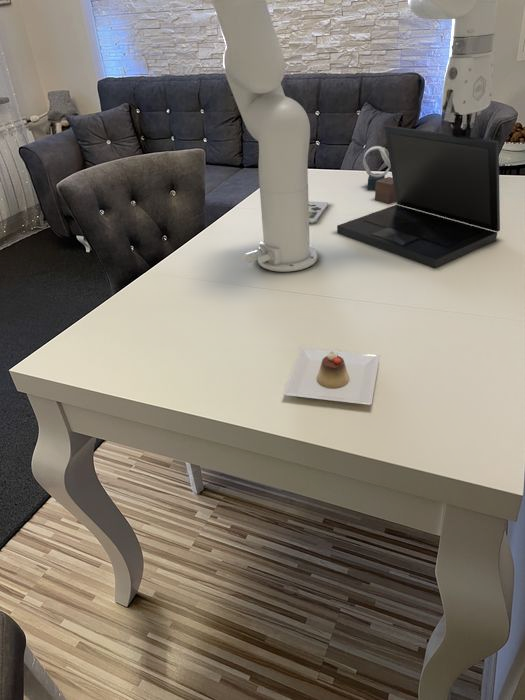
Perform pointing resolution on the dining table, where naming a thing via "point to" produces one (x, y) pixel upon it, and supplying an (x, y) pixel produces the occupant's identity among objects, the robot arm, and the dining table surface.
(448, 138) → the laptop screen
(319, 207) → the handheld gaming device
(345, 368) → the dessert
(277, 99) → the robot arm
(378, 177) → the watch
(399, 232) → the laptop
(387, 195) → the block
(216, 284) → the dining table surface
